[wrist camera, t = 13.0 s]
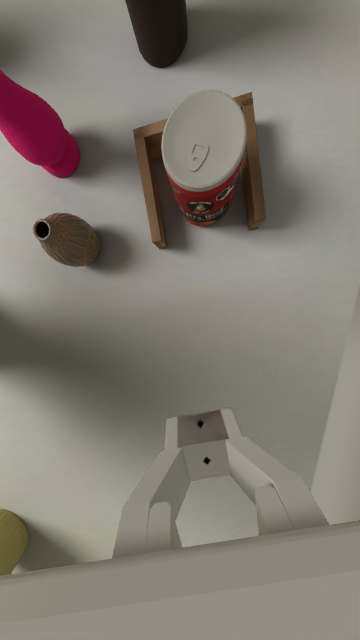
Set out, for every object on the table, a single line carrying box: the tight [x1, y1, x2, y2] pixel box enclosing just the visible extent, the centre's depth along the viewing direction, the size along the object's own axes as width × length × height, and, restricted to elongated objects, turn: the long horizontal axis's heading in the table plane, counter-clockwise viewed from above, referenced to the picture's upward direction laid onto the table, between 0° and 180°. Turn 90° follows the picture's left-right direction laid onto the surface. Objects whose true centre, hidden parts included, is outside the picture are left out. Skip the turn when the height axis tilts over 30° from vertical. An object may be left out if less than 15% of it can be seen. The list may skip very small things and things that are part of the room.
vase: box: [33, 213, 100, 267], centre depth 27 cm, size 7×7×9 cm
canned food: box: [161, 90, 247, 226], centre depth 23 cm, size 8×8×11 cm
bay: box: [133, 92, 266, 249], centre depth 26 cm, size 14×14×4 cm
